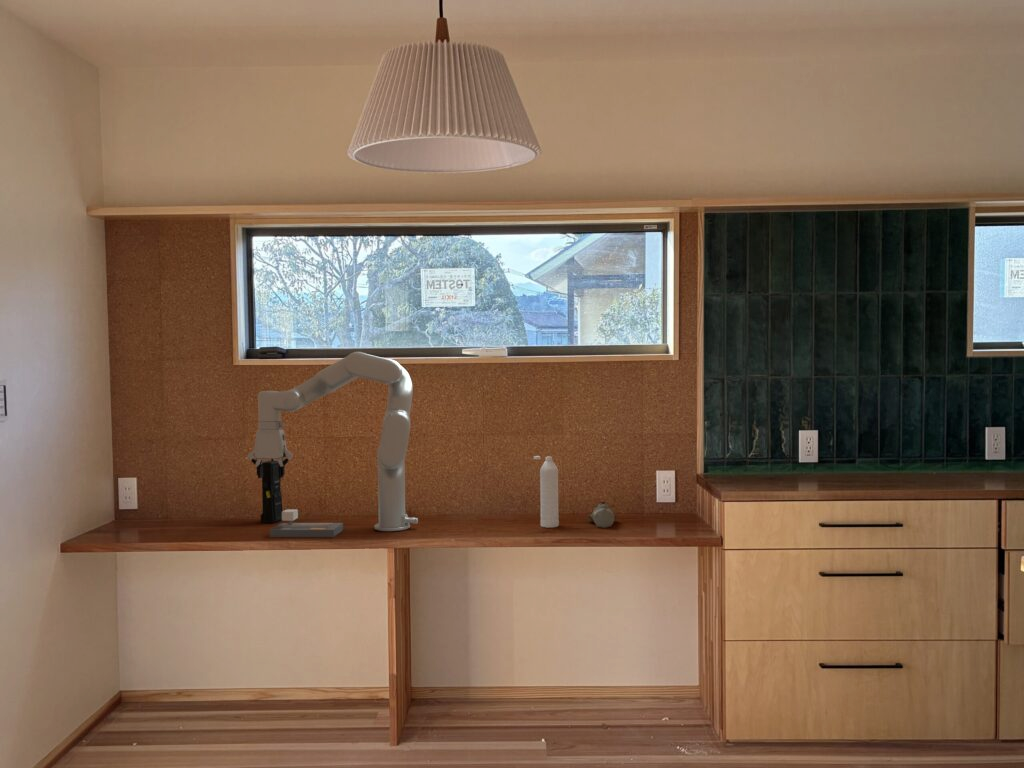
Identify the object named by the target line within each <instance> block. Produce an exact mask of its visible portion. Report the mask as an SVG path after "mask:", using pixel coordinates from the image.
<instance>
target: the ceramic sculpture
mask: <svg viewBox="0 0 1024 768" xmlns="http://www.w3.org/2000/svg"><path fill="white" fill-rule="evenodd" d="M586 517H587V519H588V521H590V522H593V523H594V524H595V525H596V526H597V527H599V528H601V529H606V528H610V527H611V526H612V525H613V524H614V521H615V520H616V519H617V514H616V513H615V514H614V512H613V510H612V509H611V507H610V506H609V505H608V504H607V503H606V502H604V501H601V502H600V503H599V504H598V505H596V506H595V507H593V511H592V514H590V513H588V515H586Z"/></svg>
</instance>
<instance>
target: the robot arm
mask: <svg viewBox="0 0 1024 768" xmlns="http://www.w3.org/2000/svg"><path fill="white" fill-rule="evenodd" d="M359 378H361V379H364V380H370V381H372V382H373V381H375V382H378V383H382V384H386V385H387V386H388V395H387V403H386V407H385V414H384V418H383V419H382V428H381V435H380V440H379V446H378V448H377V453H376V454H377V481H378V482H377V489H378V490H377V494H378V497H377V499H378V500H377V501H378V523H376V524H374V527H373V528H374V530H376V531H380V532H397V531H398V532H399V531H405V530H408V529H409V528H410V527H411V524H418V522H419V519H418V517H414V516H413V517H409V516H408V513H406V474H405V473H406V465H405V463H406V462H405V461H406V460H405V459H406V456H407V451H408V445H409V439H410V434H411V424H412V423H411V419H410V418H411V417H410V415H411V410H412V400H413V393H414V390H413V389H414V387H413V382H412V379H411V376H410V374H409V372H408V371H407V370H406V369H405V368H404V366H402V365H401V364H400V363H399V362H398V361H396V360H394V359H390V358H386V357H380V356H376V355H372V354H369V353H366V352H362V351H354V352H351V353H349V354H348V355H346V356H345V357H343V358H341V359H339V360H337V361H335V362H334V363H332V364H330V365H329V366H327V367H325V368H323V369H321V370H320V371H318V372H317V373H316V374H314V376H312V377H311V378H309V379H306V381H304V382H302V383H301V384H299V385H297V386H295V387H293V388H291V389H289V390H282V391H278V390H263V391H262V390H261V391H260V392H258V394H257V411H258V412H257V414H258V415H257V416H258V417H257V418H258V429H257V430H256V433H255V440H254V448H253V449H252V450H251V451H250V452H249V453H248V454H247V455H246V456H247V458H248V459H249V460H250V461H251V463H252V464H253V465H254V466H255V467H256V476H257V479H262V477H263V466H262V462H264V460H271V459H273V460H276V461H278V463H279V465H280V467H278V476H279V478H281V479H282V478H284V476H285V471H286V469H285V468H286V467H285V466H287V464H288V463H289V461H290V460H291V459H292V458H293V457H294V454H293V453H292V452H291V451H289V449H288V448H287V442H286V441H287V440H286V435H285V430H284V429H282V428H285V427H286V423H285V422H282V415H281V414H282V412H288V413H289V412H290V413H291V412H296V411H298V410H300V409H302V408H303V407H306V406H307V405H308V404H311V403H312V402H314V401H316V400H318V399H319V398H322V397H324V396H327V395H328V394H331V393H333V392H335V391H336V390H337V391H338V389H341V388H342V387H344V386H346V385H347V384H349V383H351V382H353V381H355V380H357V379H359Z"/></svg>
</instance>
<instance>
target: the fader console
mask: <svg viewBox="0 0 1024 768" xmlns="http://www.w3.org/2000/svg"><path fill="white" fill-rule="evenodd" d="M343 530H344V523H343V522H292V525H288V522H281V523H279V524H278V525H276V526H274V527H272V528H271V529H270V530H269V538H335V537H336V536H338V534H340V533H341V532H343Z"/></svg>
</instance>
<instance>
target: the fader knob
mask: <svg viewBox="0 0 1024 768" xmlns="http://www.w3.org/2000/svg"><path fill="white" fill-rule="evenodd" d="M282 511H283V512H282V520H281V521H282V522H283V521H286V522H287V523H288V525H292V523H293V521H295V520H296V519H298V518H299V510H298V509H297V508H296V509H294V508H293V509H292V508H291V509H285V510H282Z"/></svg>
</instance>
